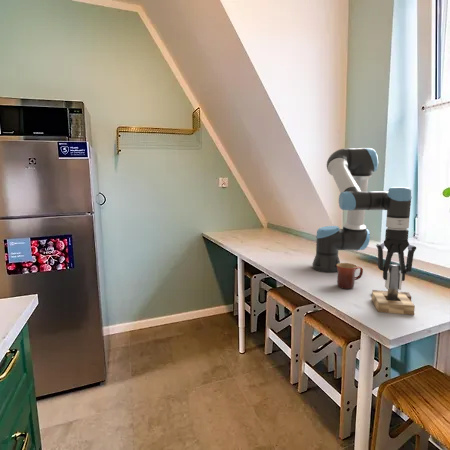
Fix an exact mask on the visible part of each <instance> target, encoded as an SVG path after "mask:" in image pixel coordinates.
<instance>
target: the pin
mask: <svg viewBox="0 0 450 450" xmlns="http://www.w3.org/2000/svg"><path fill="white" fill-rule="evenodd" d="M388 271H389V272H390V281H389V289H387V291H388V293H387V300H391V301H398V292H399V289H398V288H399V274H400V272H401V270H400V264H397V263H395V264H394V263H390V266H389V269H388Z"/></svg>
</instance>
